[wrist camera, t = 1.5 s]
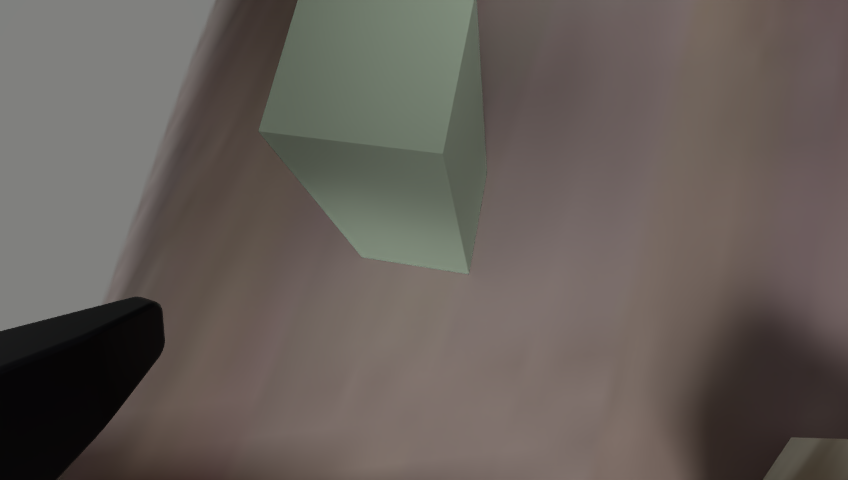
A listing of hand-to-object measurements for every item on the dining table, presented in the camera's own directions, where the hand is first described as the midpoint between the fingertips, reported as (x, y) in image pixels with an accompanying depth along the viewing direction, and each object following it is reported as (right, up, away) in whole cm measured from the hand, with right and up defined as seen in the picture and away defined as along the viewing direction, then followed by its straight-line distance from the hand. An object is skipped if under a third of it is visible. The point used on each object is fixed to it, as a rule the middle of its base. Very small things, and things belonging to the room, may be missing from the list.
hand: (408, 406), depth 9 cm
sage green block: (0, +4, +16) cm, 16 cm away
